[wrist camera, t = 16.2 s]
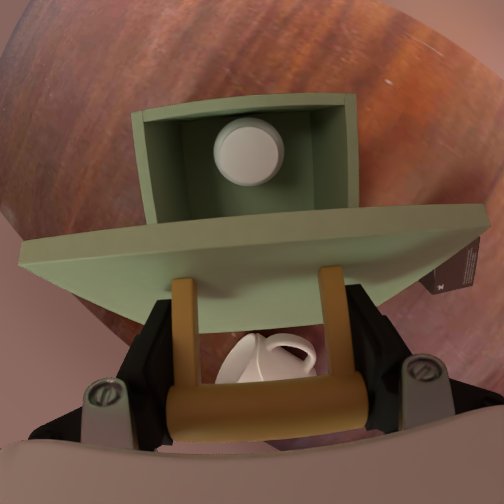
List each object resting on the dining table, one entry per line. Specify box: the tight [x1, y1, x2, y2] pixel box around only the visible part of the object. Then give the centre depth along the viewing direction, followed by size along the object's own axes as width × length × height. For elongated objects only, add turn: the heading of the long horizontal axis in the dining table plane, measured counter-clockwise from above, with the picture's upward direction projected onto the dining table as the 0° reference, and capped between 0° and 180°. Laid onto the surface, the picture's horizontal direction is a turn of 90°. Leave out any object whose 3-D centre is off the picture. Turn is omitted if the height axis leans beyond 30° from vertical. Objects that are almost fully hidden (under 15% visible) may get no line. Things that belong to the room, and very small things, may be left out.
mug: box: [215, 333, 316, 384], centre depth 36 cm, size 12×9×8 cm
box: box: [419, 236, 480, 295], centre depth 31 cm, size 6×6×7 cm
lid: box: [18, 203, 491, 442], centre depth 14 cm, size 16×14×6 cm
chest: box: [131, 93, 359, 225], centre depth 26 cm, size 16×14×12 cm
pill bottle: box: [214, 117, 284, 186], centre depth 25 cm, size 5×5×10 cm
